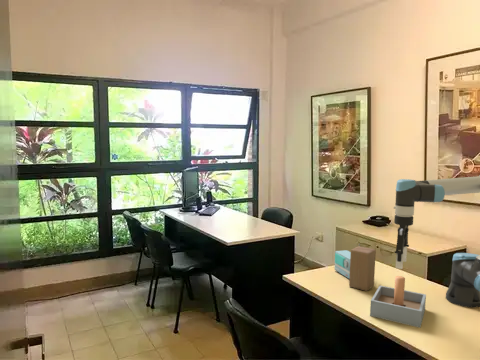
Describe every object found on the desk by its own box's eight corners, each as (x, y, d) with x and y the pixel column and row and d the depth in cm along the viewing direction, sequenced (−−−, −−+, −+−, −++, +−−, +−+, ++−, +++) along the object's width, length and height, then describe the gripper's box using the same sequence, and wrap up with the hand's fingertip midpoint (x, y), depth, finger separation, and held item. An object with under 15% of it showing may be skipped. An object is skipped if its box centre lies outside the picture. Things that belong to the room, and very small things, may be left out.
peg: (403, 311, 172) (405, 277, 170) (402, 315, 168) (404, 279, 167) (393, 309, 174) (396, 275, 172) (392, 313, 170) (394, 278, 169)
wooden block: (356, 281, 208) (357, 245, 205) (374, 286, 201) (376, 249, 199) (348, 286, 200) (350, 249, 198) (367, 292, 194) (369, 253, 191)
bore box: (425, 309, 175) (426, 294, 174) (420, 327, 158) (421, 311, 157) (378, 299, 185) (379, 285, 184) (369, 315, 168) (370, 300, 167)
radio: (332, 271, 223) (333, 237, 221) (346, 269, 226) (347, 236, 224) (347, 281, 208) (349, 245, 206) (362, 279, 211) (364, 243, 209)
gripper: (398, 210, 178) (396, 256, 181) (390, 218, 158) (387, 270, 161) (416, 211, 174) (413, 258, 177) (410, 221, 154) (406, 274, 157)
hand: (401, 264), depth 169 cm, fingers open, 11 cm apart
